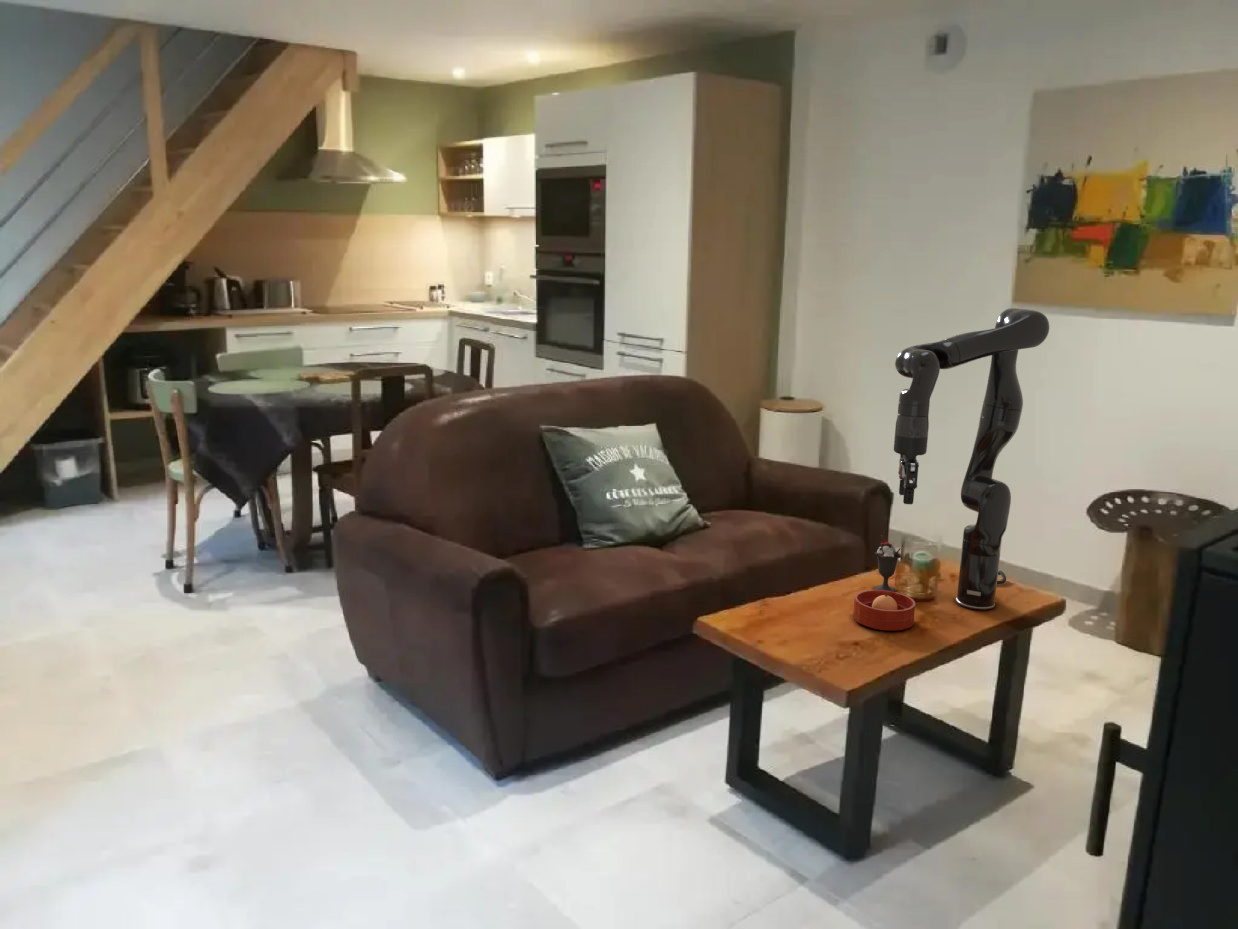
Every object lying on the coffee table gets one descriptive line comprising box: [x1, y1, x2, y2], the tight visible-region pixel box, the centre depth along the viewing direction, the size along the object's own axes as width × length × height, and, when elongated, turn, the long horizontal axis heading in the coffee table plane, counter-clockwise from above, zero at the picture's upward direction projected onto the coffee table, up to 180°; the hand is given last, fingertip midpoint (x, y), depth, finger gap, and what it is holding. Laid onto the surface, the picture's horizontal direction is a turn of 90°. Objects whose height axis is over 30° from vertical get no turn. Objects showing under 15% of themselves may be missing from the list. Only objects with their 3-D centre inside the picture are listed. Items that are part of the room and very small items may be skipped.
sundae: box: [874, 534, 902, 592], centre depth 257 cm, size 7×7×15 cm
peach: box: [872, 593, 897, 610], centre depth 236 cm, size 6×6×7 cm
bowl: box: [852, 589, 916, 632], centre depth 236 cm, size 14×14×6 cm
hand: (905, 499), depth 233 cm, fingers open, 8 cm apart
